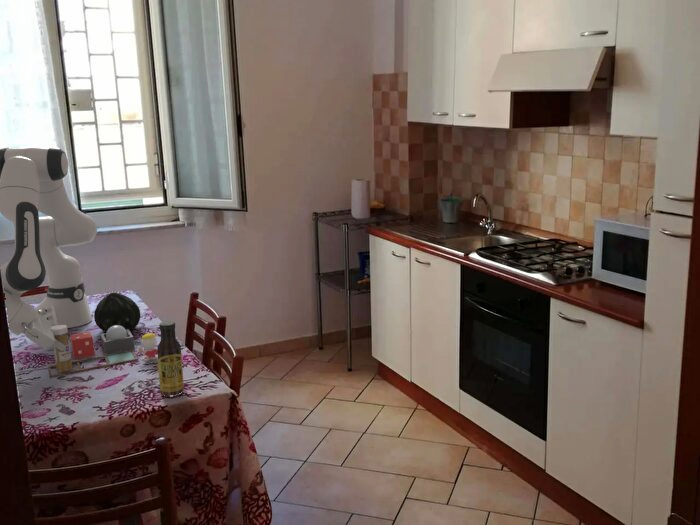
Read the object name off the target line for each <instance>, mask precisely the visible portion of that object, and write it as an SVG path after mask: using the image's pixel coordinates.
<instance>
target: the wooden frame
mask: <svg viewBox="0 0 700 525" xmlns="http://www.w3.org/2000/svg"><path fill="white" fill-rule="evenodd" d="M99 359H105V361H106V363H103V364H100V365H99V364H98V365H95V366H91V367H85V368H82V366H81V363H84V362H89V361H95V360H99ZM135 361H136V362H137V361H139V357H138V355H137V354H136V353H135V351H134V349H130V350H125V351H120V352H115V353H110V354H104V355H99V356H93V357H89V358H84V359H79V360H74V361H71V362H72V365H73V364H74V365H75V364H76V366H77V369H76V370H69V371H66V372H58V373H54V374H53V373H52V369H53V368H57V366H56V364H52V365H47V370H48V371H47V372H48V376H49V378H50V379H51V378H56V377H61V376H65V375H67V376H68V375H70V374H75V373H76V374H77V373H81V372H85V371H86V372H87V371H90V370H95V369H96V370H97V369H100V368H105V367H111V366H115V365H120V364H126V363H130V362H135Z"/></svg>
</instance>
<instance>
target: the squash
mask: <svg viewBox="0 0 700 525" xmlns="http://www.w3.org/2000/svg"><path fill="white" fill-rule="evenodd" d="M93 316H94V322H95V324H96V326H97V327H98V328H99V329H100V330H102V331H103V332H106V333H107V331H108V329H109V328H110V327H112V326H114V325H120V326H122V327H124V328H125V330H126V329H129V331H130V332H131V331H133V329H135V328H136V327H137V326H138V324H139V323H140V321H141V309H140V308H139V305H138V304H137V303H136V302H135V301H134V300H133V299H132V298H130V297H129V296H126V295H124V294H122V293H119V292H110V293H108V294H107V295H106V296H104V297H103V298H102V299H100V300H99V302H98V303H97V305H96V306H95V310H94V313H93Z"/></svg>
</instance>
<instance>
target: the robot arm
mask: <svg viewBox="0 0 700 525" xmlns="http://www.w3.org/2000/svg"><path fill="white" fill-rule="evenodd" d="M68 170H69V159H68V156H67V154H66V152H65V151H64V150H63V149H62V148H60V147H56V146H49V147H48V146H38V145H37V146H36V145H35V146H34V145H33V146H32V145H30V146H20V147H19V146H18V147H11V148H9V147H3V148H0V214H1V215H2V216H3V217H4V218H5V219H6V220H8V221H10V222H12V223H13V225H14V226H13V227H14V253H13V255H12V257H11V258H10V260H9V261H8V262H5V263H4V264H3V265H1V266H0V269H1V272H2V278H3V285H4V292H5V298H6V308H7V315H8V323H9V329H10V332H11V333H13V334H14V335H16V336H20V335H21V334H23V335H24V336H25V337H26V338H27V339H28V340H30V341H31V342H32V343H34V344H36V345H37V346H39V347H40V348H42V349H44V350H46V351H49V350H50V349H51V348H53V347H55V348H58V349H59V350H61V351H63V350H64V349H65V348H66V346H65V344H63V343H62V342H59V341H57V340H56V339H55V337H54V334H53V332H52V331H51V330H50V329H51V327H53V326H56V325H66V326H67V329H71V328H77V327H81V326H84V325H86V324H88V323H90V322H92V320H93V316H94V313H93V312H92V311H91V308H90V304H89V300H88V296H87V295H86V294H85V292H86V289H85V285H84V282H83V279H82V272H81V264H80V262H79V261H78V259H76V258H75V257H74V256H70V255H68V254H65V253H64V252H62V250H61V249H60V248H61V247H62V248H63V247H74V246H81V245H84V244H88V243H92V242H93V241H94V240H95V238H96V237H97V234H98V226H97V223H96V221H95V220H94V218H93V217H92V216H91V215H89V214H87V213H85V212H82V211H81V210H79V208H77V207H76V206H75V205H74V204H73V203H72V202H71V200H70V198H69V197H68V194H67V190H66V187H65V183H64V178H65V177H66V176H67V174H68ZM39 213H41V214H43V215H45V216H39ZM46 277H47V282H48V286H46V287H44V289H45V290H44V291H45V292H46V297H45V298H44V299H43V300H42V301H41V302H39V304H38V305H37V306H36V308H35V307H33V305H31V304H30V303H27V302H25V301H24V300H22V299H21V296H22V295H23V294H24V293H26V292H29V291H33V290H35V289H37V288H39V287H40V286H41V285H42V284H43V283H44V281H45V278H46ZM92 315H93V316H92Z"/></svg>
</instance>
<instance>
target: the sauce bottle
mask: <svg viewBox="0 0 700 525" xmlns="http://www.w3.org/2000/svg"><path fill="white" fill-rule="evenodd" d="M158 324H159V327H158V328H159V330H160V341H159V343H158V346H157V347H156V349H157V351H158V354H157V367H158V368H157V369H158V380H159V381H158V382H159V390H160V395H161V396H162V395H165V396H170V395H176V394H179V393H181V392H182V391H183V392H184V388H185V385H184V369H183V356H182V348H181V344H180V341H179V340H178V339H177V338H176V337H177V336H176V322H175V321H174V320H165V321H162V322H160V323H158Z"/></svg>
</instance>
